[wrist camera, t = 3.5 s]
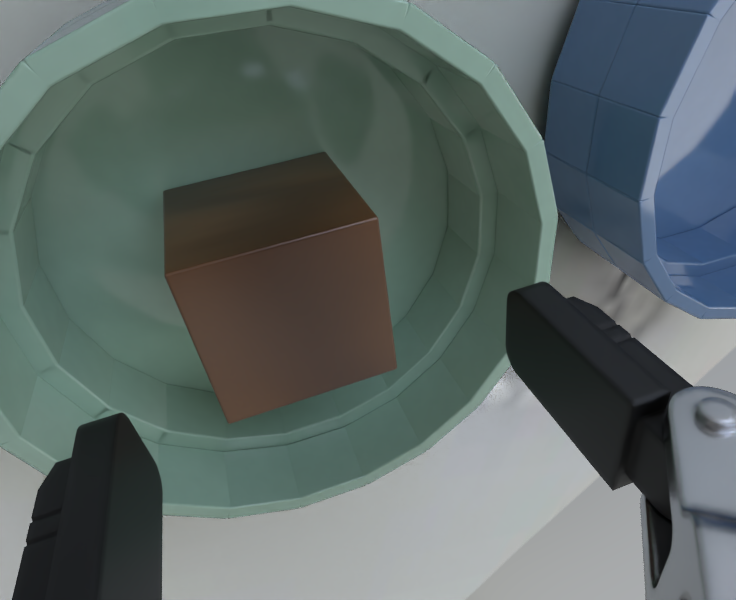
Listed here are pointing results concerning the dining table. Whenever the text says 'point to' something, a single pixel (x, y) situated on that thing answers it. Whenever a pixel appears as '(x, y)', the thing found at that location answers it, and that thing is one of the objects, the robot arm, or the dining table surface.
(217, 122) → the celadon bowl
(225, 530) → the dining table surface
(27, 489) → the dining table surface
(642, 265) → the blue bowl
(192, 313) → the walnut block
